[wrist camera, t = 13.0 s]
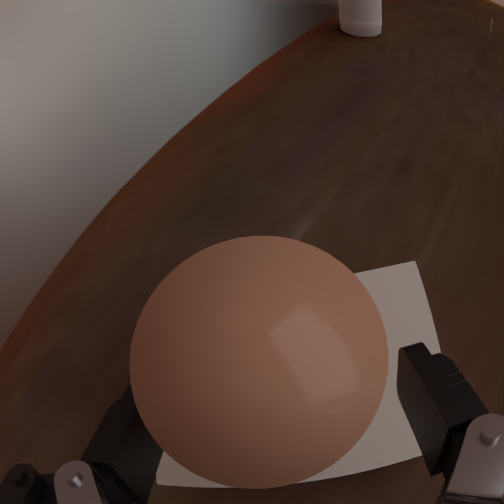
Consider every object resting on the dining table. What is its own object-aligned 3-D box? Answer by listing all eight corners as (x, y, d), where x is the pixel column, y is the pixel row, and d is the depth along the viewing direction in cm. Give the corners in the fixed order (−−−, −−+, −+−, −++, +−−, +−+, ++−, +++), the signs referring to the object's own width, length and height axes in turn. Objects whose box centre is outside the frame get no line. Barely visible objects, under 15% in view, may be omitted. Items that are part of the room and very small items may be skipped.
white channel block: (191, 469, 20) (157, 484, 15) (180, 330, 26) (147, 308, 21) (423, 435, 18) (455, 442, 13) (395, 292, 24) (415, 260, 19)
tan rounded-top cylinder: (248, 438, 16) (137, 483, 5) (239, 346, 18) (133, 258, 8) (347, 424, 15) (405, 464, 4) (333, 331, 18) (354, 216, 7)
